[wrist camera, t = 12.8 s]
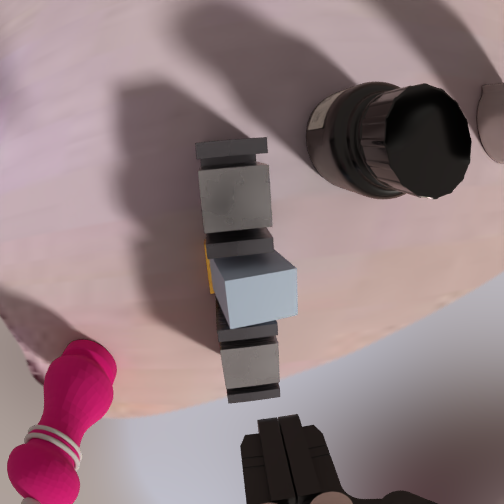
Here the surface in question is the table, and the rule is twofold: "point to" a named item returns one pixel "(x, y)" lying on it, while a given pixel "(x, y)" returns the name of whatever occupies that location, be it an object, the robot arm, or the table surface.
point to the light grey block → (255, 288)
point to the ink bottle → (390, 140)
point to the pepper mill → (63, 424)
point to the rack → (238, 244)
